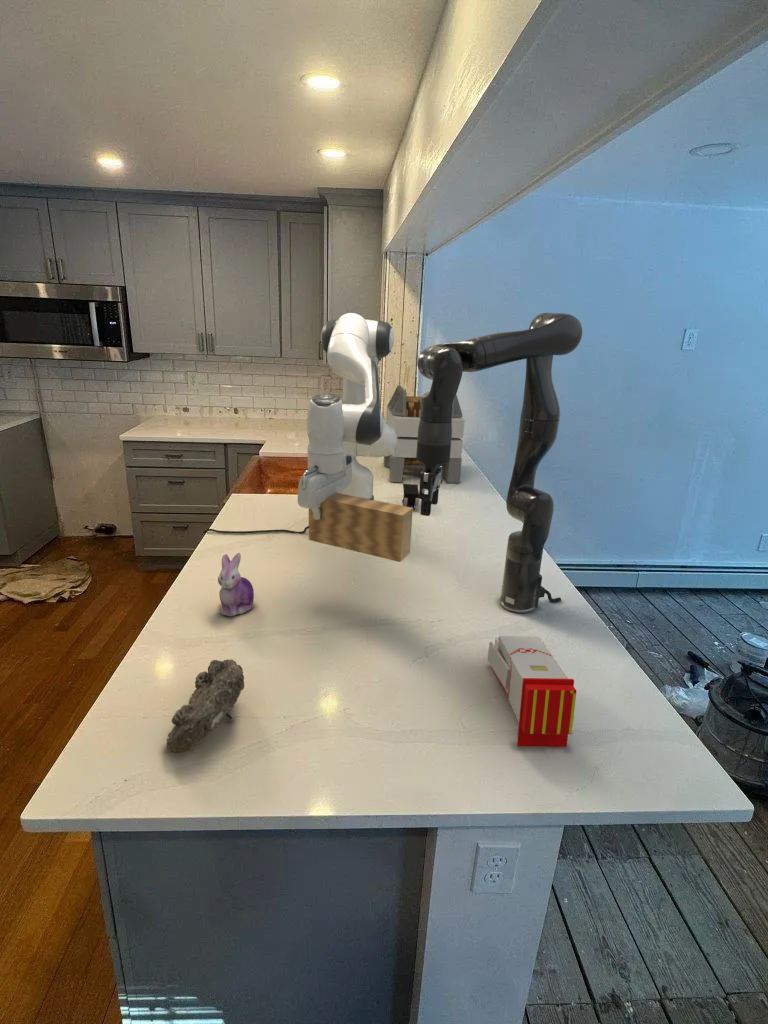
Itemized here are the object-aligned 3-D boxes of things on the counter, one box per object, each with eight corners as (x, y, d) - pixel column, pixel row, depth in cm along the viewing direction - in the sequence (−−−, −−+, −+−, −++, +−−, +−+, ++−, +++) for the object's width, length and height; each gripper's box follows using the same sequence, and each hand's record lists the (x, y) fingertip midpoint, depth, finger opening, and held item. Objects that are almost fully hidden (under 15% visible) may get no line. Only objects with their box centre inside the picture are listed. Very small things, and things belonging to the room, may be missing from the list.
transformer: (382, 463, 289) (386, 382, 275) (445, 464, 293) (451, 384, 279) (390, 482, 257) (394, 392, 243) (460, 483, 261) (468, 394, 247)
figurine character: (419, 515, 222) (416, 499, 236) (420, 498, 219) (418, 482, 232) (402, 515, 222) (400, 498, 235) (403, 497, 218) (401, 482, 232)
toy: (536, 619, 129) (586, 686, 99) (531, 673, 131) (578, 754, 102) (483, 618, 128) (517, 685, 99) (479, 672, 131) (511, 753, 102)
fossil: (192, 660, 117) (244, 628, 112) (224, 691, 120) (276, 661, 115) (142, 746, 98) (202, 712, 93) (182, 779, 101) (242, 748, 96)
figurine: (223, 621, 140) (219, 566, 135) (214, 602, 149) (210, 550, 144) (260, 613, 144) (258, 559, 139) (250, 595, 153) (247, 544, 148)
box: (308, 540, 146) (308, 495, 141) (320, 532, 151) (320, 489, 146) (400, 562, 136) (403, 515, 131) (410, 553, 141) (412, 507, 136)
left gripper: (313, 474, 130) (313, 530, 135) (356, 454, 147) (355, 504, 152) (290, 470, 132) (291, 524, 137) (335, 451, 149) (334, 500, 154)
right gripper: (445, 449, 118) (439, 521, 123) (456, 435, 131) (450, 502, 136) (410, 445, 120) (406, 517, 125) (424, 432, 133) (420, 498, 138)
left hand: (325, 514), depth 145 cm, fingers closed on box, 6 cm apart
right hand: (429, 509), depth 131 cm, fingers open, 8 cm apart
